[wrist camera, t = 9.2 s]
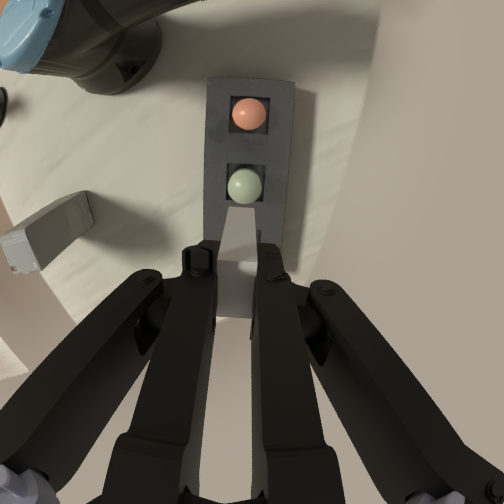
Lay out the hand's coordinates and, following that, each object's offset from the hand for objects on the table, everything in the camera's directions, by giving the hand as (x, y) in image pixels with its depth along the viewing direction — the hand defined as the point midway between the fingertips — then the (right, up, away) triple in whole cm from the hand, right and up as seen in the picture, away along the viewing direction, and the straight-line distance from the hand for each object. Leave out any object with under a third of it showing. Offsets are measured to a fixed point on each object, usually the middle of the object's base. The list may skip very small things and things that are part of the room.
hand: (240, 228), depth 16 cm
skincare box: (-30, +5, +24) cm, 39 cm away
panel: (0, +9, +22) cm, 24 cm away
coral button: (0, +17, +16) cm, 23 cm away
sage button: (0, +8, +19) cm, 20 cm away
